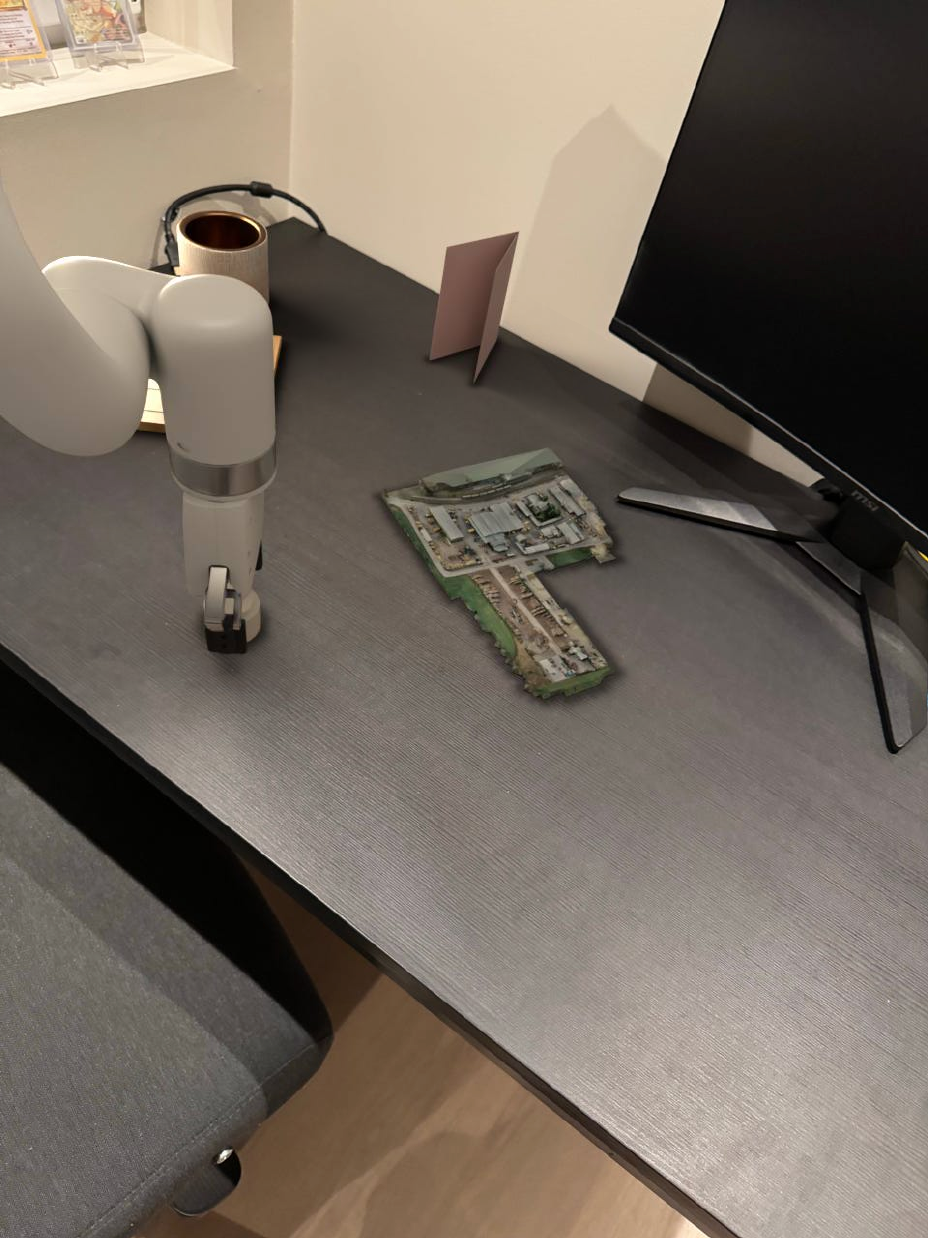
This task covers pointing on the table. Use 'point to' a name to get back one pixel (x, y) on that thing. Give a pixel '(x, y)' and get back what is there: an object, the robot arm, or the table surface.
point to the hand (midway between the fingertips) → (236, 607)
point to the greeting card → (473, 296)
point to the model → (512, 558)
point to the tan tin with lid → (246, 612)
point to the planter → (224, 247)
